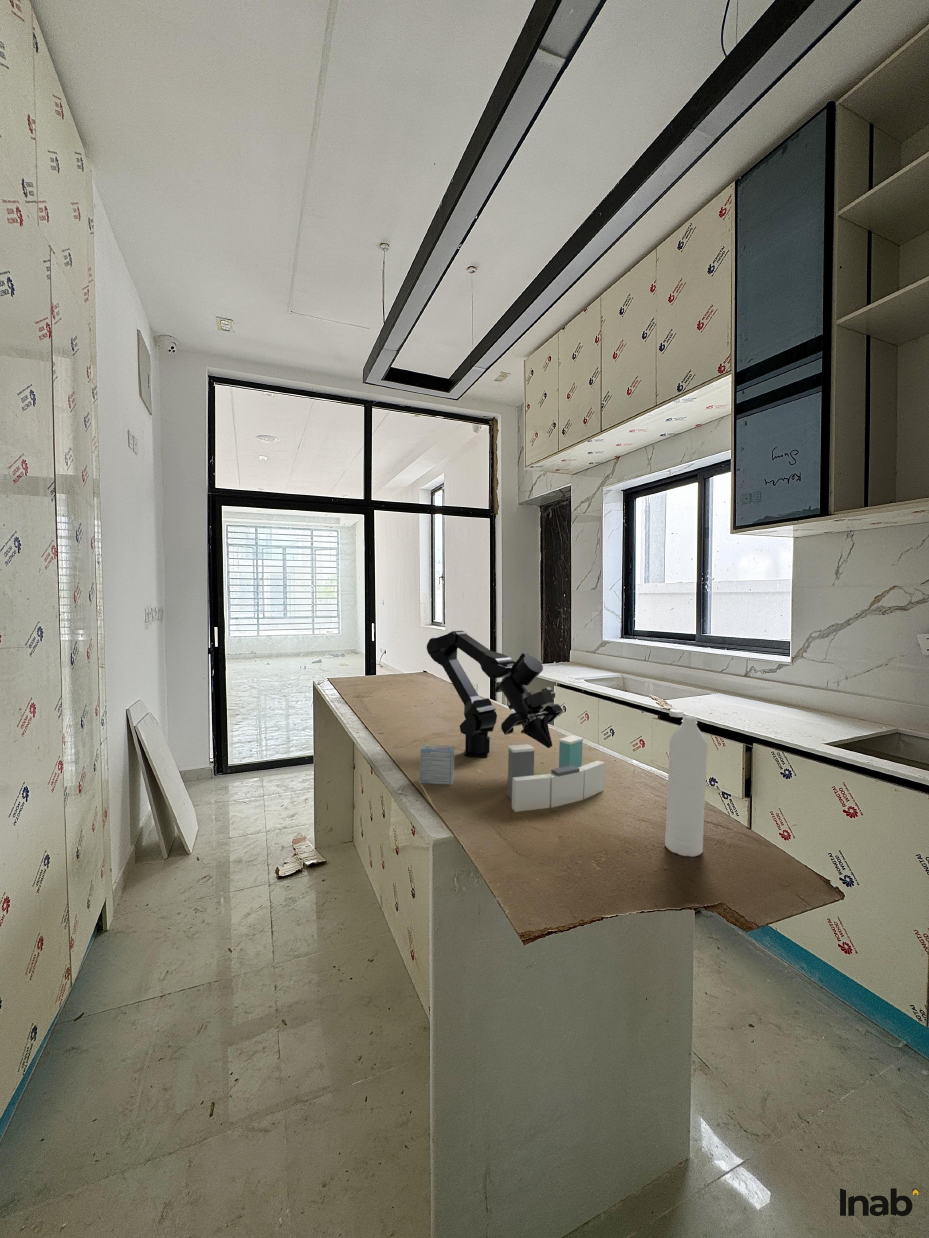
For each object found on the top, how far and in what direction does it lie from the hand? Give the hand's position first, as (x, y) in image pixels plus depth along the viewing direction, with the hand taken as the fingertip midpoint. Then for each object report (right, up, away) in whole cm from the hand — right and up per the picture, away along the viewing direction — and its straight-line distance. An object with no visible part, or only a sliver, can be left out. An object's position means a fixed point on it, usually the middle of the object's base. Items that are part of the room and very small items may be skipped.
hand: (550, 746), depth 131 cm
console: (0, -9, -12) cm, 15 cm away
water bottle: (+19, -11, -32) cm, 39 cm away
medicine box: (-28, -8, -2) cm, 29 cm away
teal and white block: (+4, -8, -4) cm, 10 cm away
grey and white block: (-9, -9, -11) cm, 17 cm away
